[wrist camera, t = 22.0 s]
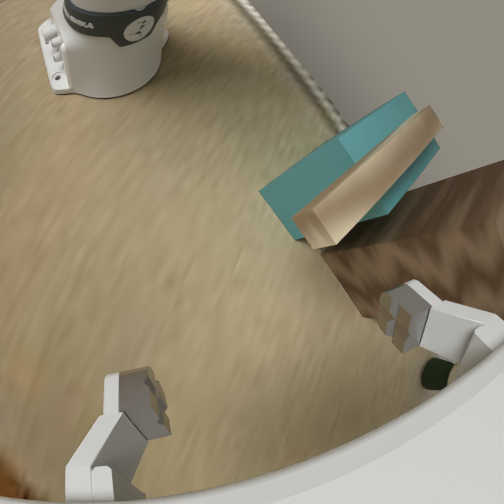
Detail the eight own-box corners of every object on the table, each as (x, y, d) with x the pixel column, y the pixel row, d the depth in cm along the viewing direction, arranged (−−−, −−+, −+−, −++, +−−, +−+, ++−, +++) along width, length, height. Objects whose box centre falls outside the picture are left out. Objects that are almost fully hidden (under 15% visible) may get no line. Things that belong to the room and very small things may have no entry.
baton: (291, 218, 22) (312, 209, 20) (412, 114, 30) (429, 105, 28) (313, 249, 23) (336, 244, 20) (425, 135, 31) (443, 126, 28)
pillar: (320, 254, 43) (495, 221, 19) (368, 204, 48) (513, 156, 24) (362, 316, 45) (524, 323, 21) (403, 262, 50) (542, 244, 26)
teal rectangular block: (258, 191, 41) (337, 138, 25) (326, 141, 46) (404, 91, 30) (294, 240, 42) (388, 214, 26) (355, 183, 47) (440, 148, 32)
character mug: (443, 378, 53) (494, 386, 41) (425, 403, 50) (477, 416, 38) (431, 340, 52) (487, 345, 40) (411, 366, 49) (470, 377, 37)
